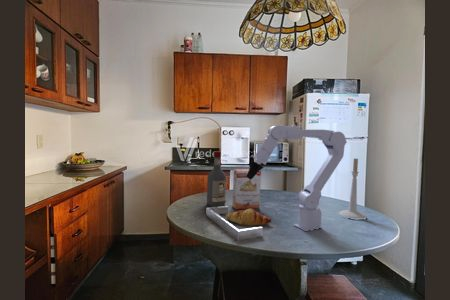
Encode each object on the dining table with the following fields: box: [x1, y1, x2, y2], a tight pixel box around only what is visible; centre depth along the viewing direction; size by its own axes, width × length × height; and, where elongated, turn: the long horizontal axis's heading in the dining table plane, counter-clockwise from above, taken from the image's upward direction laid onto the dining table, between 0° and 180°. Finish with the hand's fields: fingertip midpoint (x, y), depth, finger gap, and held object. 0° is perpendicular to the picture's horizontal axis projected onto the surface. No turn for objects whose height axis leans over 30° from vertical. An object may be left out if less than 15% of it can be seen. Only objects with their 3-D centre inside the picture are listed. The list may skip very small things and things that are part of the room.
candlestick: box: [338, 158, 367, 218], centre depth 133 cm, size 13×13×30 cm
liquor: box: [206, 150, 227, 207], centre depth 148 cm, size 9×9×30 cm
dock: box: [205, 205, 264, 241], centre depth 117 cm, size 11×33×4 cm, turn 25°
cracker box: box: [232, 168, 262, 210], centre depth 144 cm, size 14×6×21 cm, turn 105°
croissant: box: [225, 208, 272, 226], centre depth 120 cm, size 21×10×8 cm, turn 74°
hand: (249, 178), depth 113 cm, fingers open, 7 cm apart
